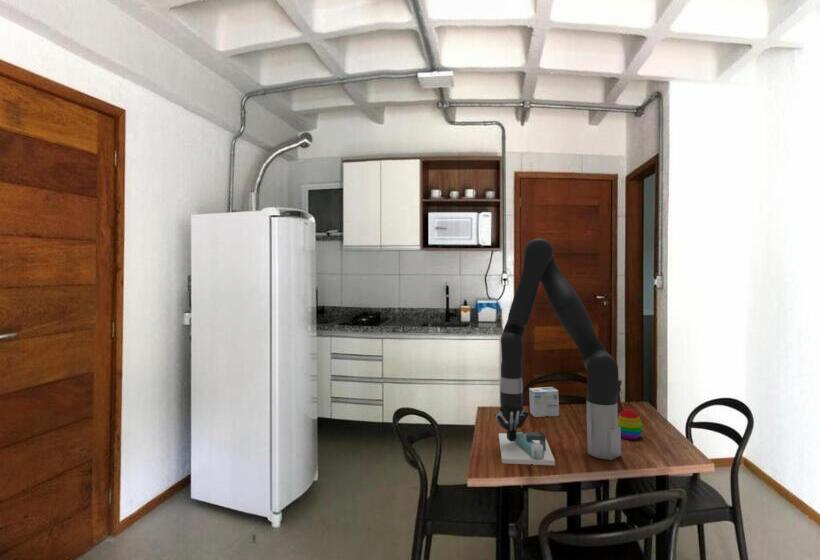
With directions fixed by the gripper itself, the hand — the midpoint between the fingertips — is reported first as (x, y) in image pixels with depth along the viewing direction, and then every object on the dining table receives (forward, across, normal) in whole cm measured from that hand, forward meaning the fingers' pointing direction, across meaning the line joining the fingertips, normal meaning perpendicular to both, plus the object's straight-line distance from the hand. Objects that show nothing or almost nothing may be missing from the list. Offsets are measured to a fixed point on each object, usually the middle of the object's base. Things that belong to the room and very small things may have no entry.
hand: (511, 440), depth 149 cm
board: (+2, +3, -3) cm, 5 cm away
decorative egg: (+2, +44, -9) cm, 45 cm away
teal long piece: (+1, +2, -6) cm, 7 cm away
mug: (+2, +57, +15) cm, 59 cm away
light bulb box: (+2, +33, +24) cm, 41 cm away
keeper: (+1, +5, -7) cm, 8 cm away
